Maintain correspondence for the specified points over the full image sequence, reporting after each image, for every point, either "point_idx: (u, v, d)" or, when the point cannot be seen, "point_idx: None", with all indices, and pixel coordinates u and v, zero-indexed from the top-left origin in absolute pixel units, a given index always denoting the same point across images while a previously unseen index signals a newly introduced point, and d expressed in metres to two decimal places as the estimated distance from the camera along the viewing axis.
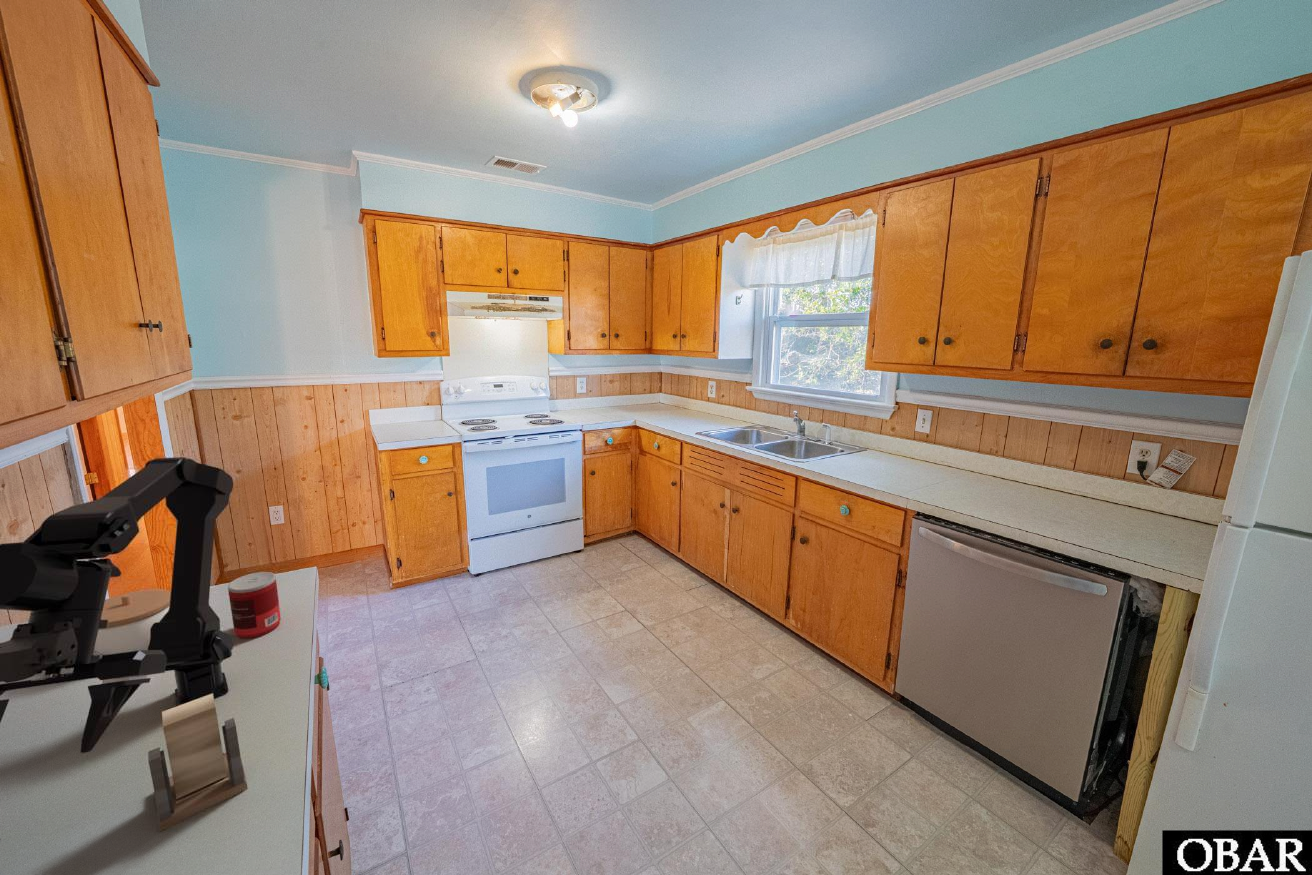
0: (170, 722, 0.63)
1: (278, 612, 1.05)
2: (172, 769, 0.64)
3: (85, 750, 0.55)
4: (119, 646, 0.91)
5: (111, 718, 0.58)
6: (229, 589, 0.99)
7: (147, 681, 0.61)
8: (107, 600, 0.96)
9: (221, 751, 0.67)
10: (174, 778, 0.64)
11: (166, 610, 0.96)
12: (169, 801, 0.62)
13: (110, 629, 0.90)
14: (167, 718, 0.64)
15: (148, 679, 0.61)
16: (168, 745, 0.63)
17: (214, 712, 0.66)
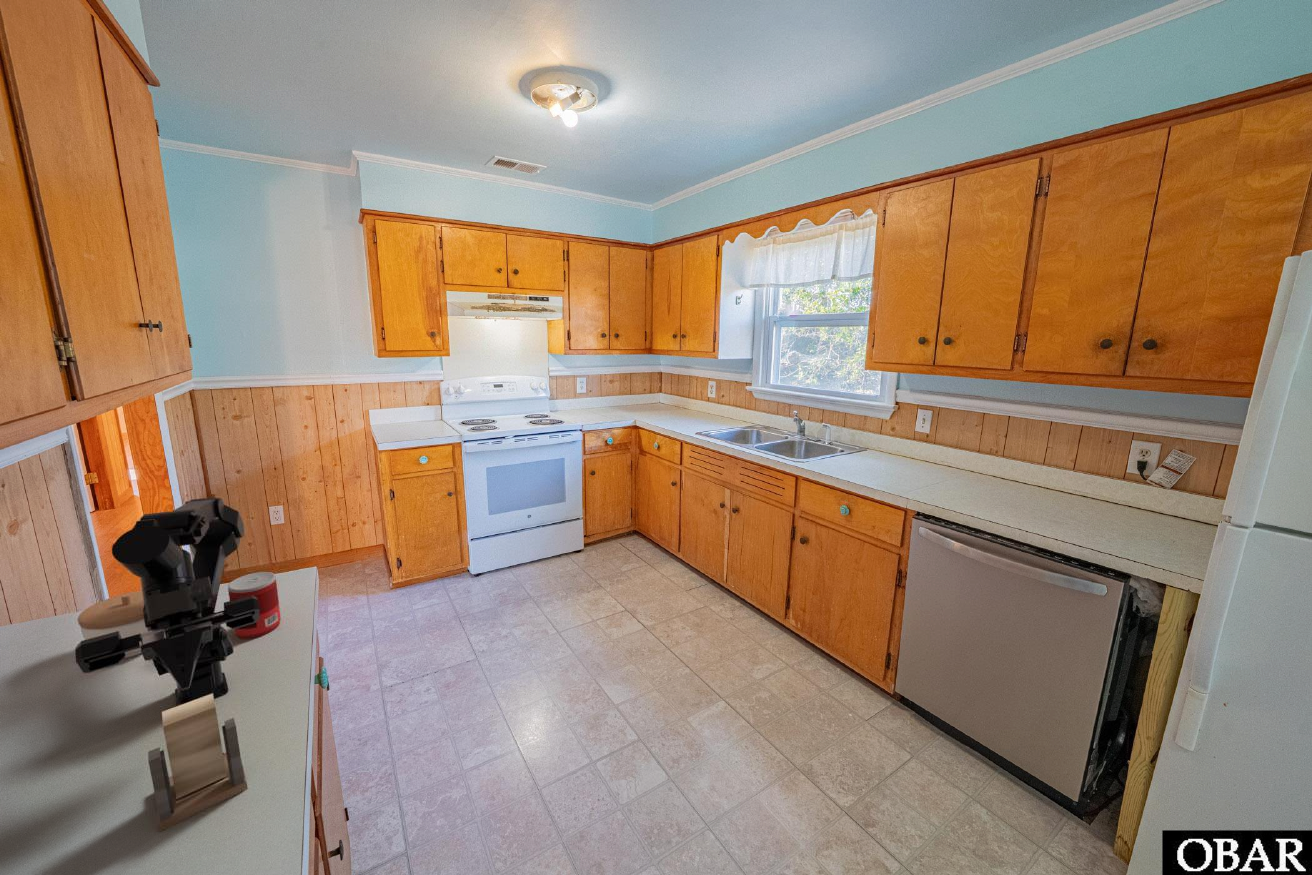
0: (170, 722, 0.63)
1: (278, 612, 1.05)
2: (172, 769, 0.64)
3: (189, 684, 0.69)
4: None
5: (195, 665, 0.72)
6: (229, 589, 0.99)
7: (212, 638, 0.75)
8: (107, 600, 0.96)
9: (221, 751, 0.67)
10: (174, 778, 0.64)
11: None
12: (169, 801, 0.62)
13: (110, 629, 0.90)
14: (167, 718, 0.64)
15: None
16: (168, 745, 0.63)
17: (214, 712, 0.66)
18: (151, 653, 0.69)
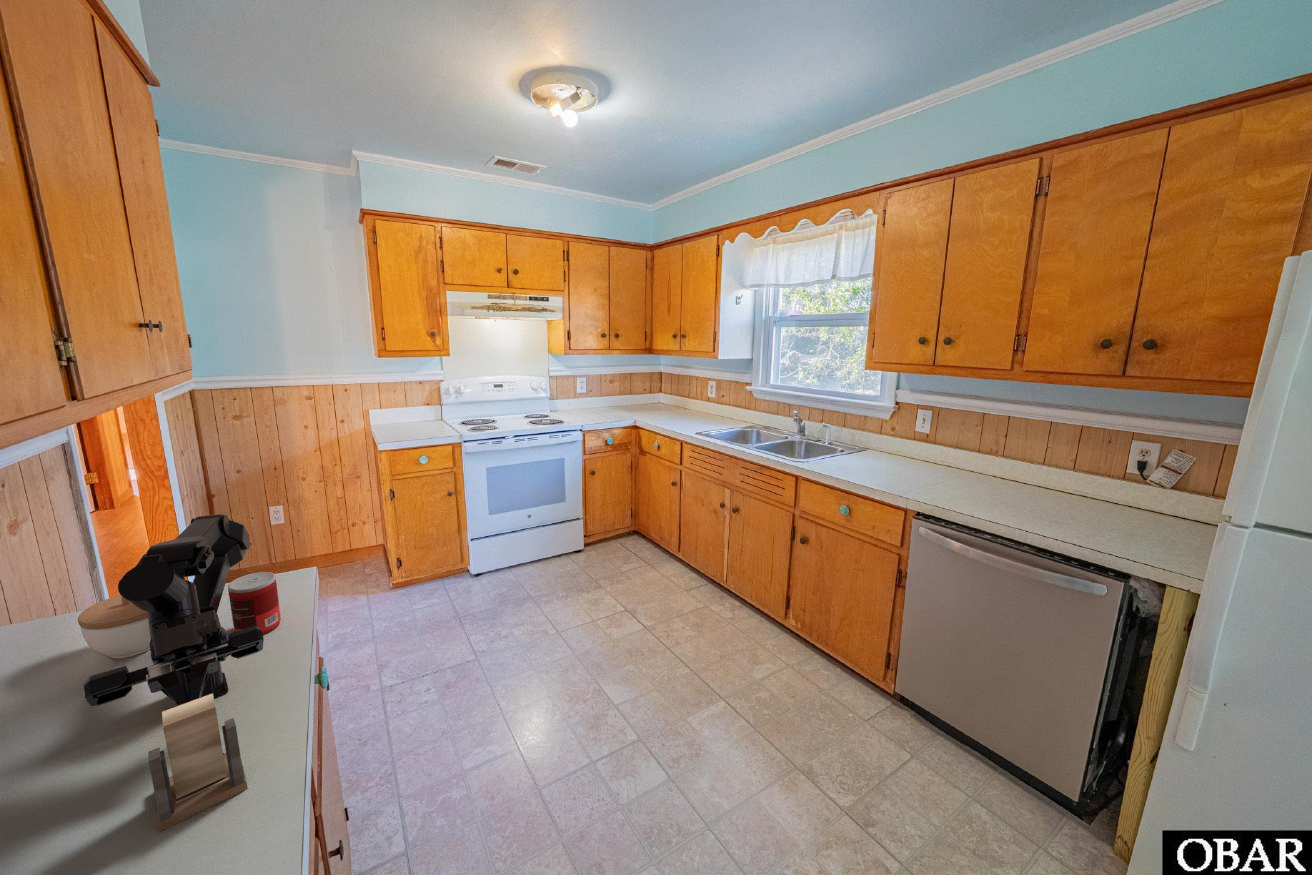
0: (170, 722, 0.63)
1: (278, 612, 1.05)
2: (172, 769, 0.64)
3: None
4: (119, 646, 0.91)
5: (200, 697, 0.73)
6: (229, 589, 0.99)
7: (217, 668, 0.76)
8: (107, 600, 0.96)
9: (221, 751, 0.67)
10: (174, 778, 0.64)
11: None
12: (169, 801, 0.62)
13: (110, 629, 0.90)
14: (167, 718, 0.64)
15: (217, 667, 0.76)
16: (168, 745, 0.63)
17: (214, 712, 0.66)
18: (157, 686, 0.71)
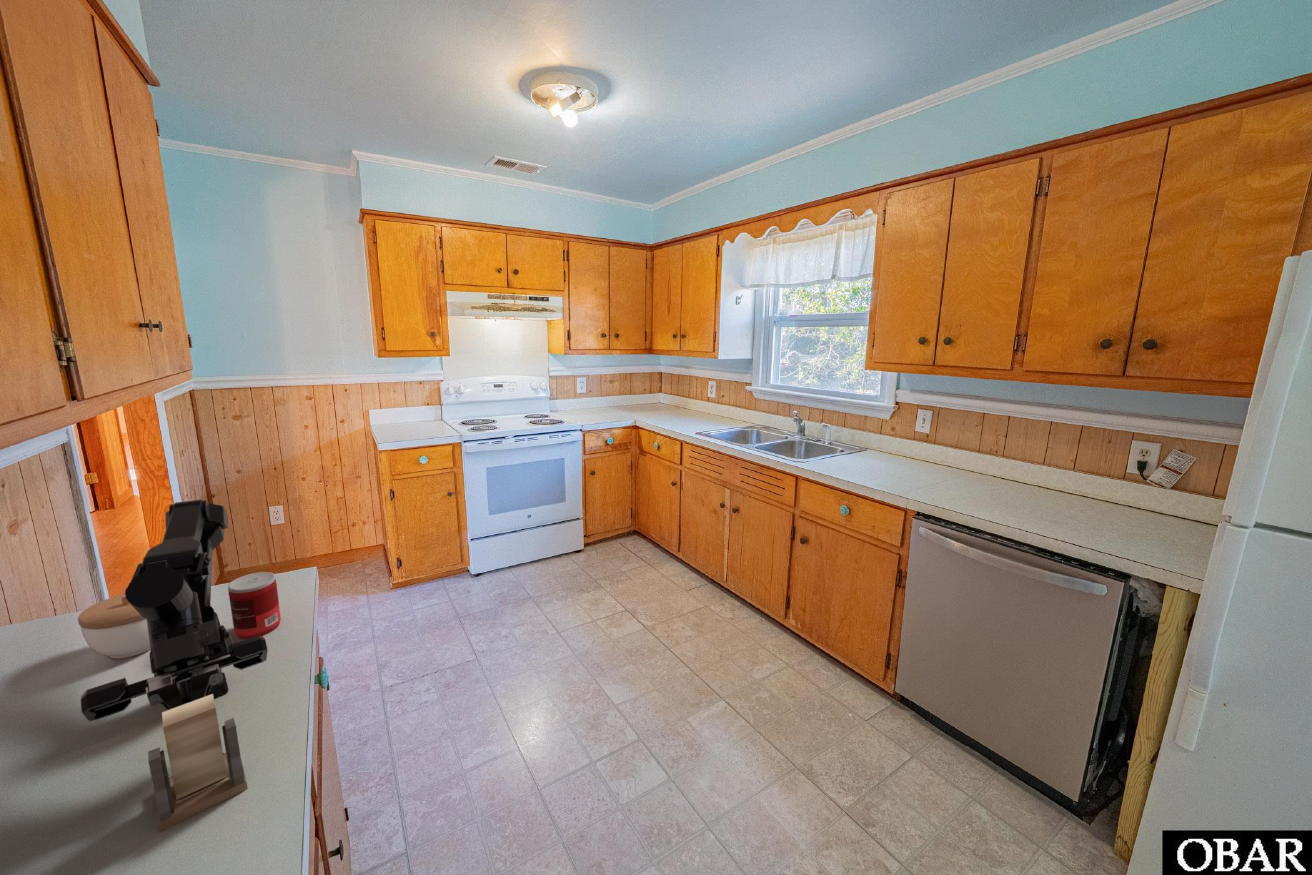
0: (170, 723, 0.63)
1: (278, 612, 1.05)
2: (172, 770, 0.64)
3: None
4: (119, 646, 0.91)
5: None
6: (229, 589, 0.99)
7: (219, 680, 0.74)
8: (107, 600, 0.96)
9: (221, 752, 0.67)
10: (174, 779, 0.64)
11: None
12: (169, 801, 0.62)
13: (110, 629, 0.90)
14: (167, 719, 0.64)
15: (219, 679, 0.74)
16: (168, 746, 0.63)
17: (214, 713, 0.66)
18: (158, 699, 0.68)
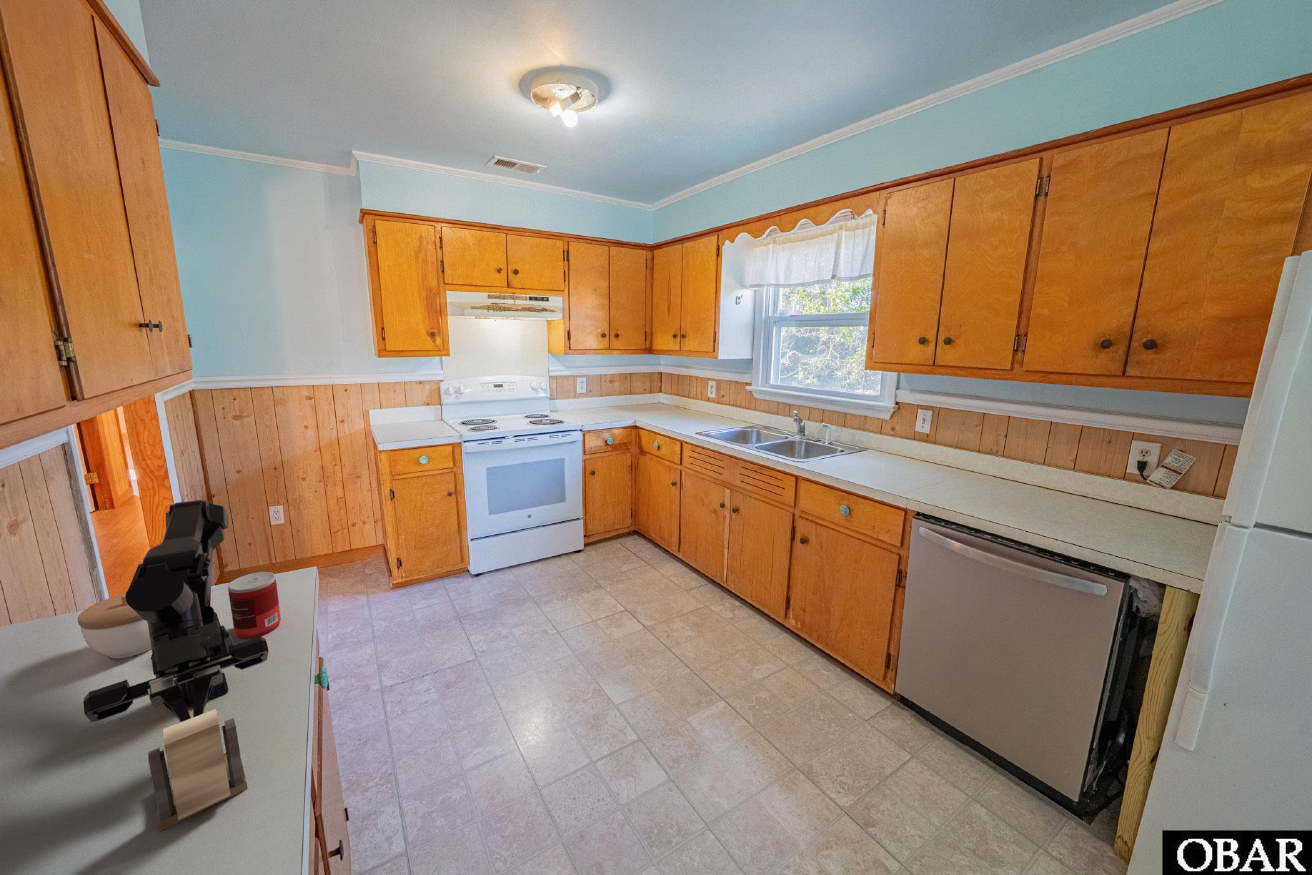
0: (172, 740, 0.60)
1: (278, 612, 1.05)
2: (174, 789, 0.61)
3: None
4: (119, 646, 0.91)
5: None
6: (229, 589, 0.99)
7: (220, 680, 0.74)
8: (107, 600, 0.96)
9: (225, 769, 0.64)
10: (176, 798, 0.61)
11: None
12: (169, 801, 0.62)
13: (110, 629, 0.90)
14: (168, 736, 0.61)
15: None
16: (170, 764, 0.60)
17: (217, 729, 0.63)
18: (160, 700, 0.69)
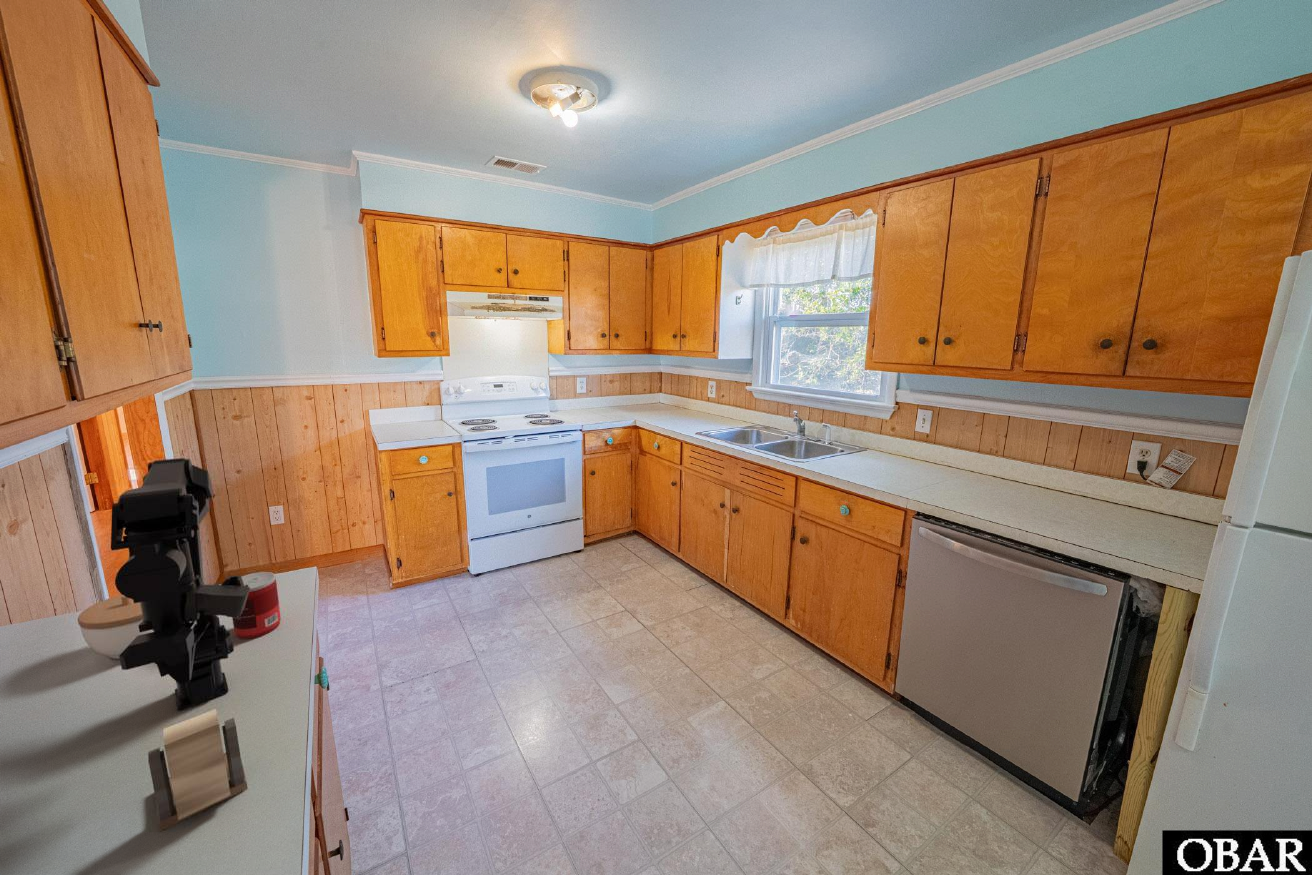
0: (172, 740, 0.60)
1: (278, 612, 1.05)
2: (174, 789, 0.61)
3: (190, 677, 0.71)
4: (119, 646, 0.91)
5: None
6: None
7: None
8: (107, 600, 0.96)
9: (225, 769, 0.64)
10: (176, 798, 0.61)
11: None
12: (169, 801, 0.62)
13: (110, 629, 0.90)
14: (168, 736, 0.61)
15: None
16: (170, 764, 0.60)
17: (217, 729, 0.63)
18: None
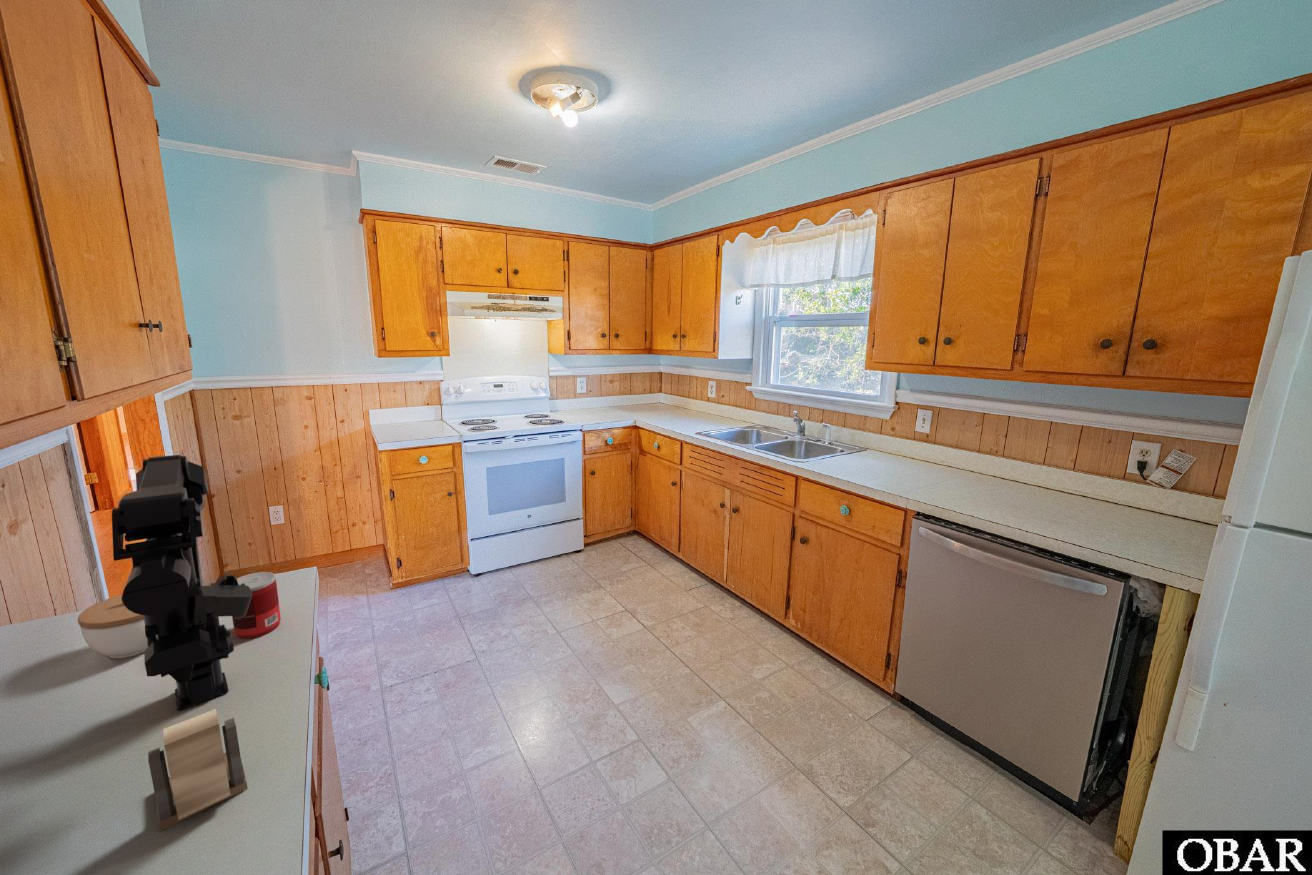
0: (172, 740, 0.60)
1: (278, 612, 1.05)
2: (174, 789, 0.61)
3: None
4: (119, 646, 0.91)
5: None
6: None
7: None
8: (107, 600, 0.96)
9: (225, 769, 0.64)
10: (176, 798, 0.61)
11: None
12: (169, 801, 0.62)
13: (110, 629, 0.90)
14: (168, 736, 0.61)
15: None
16: (170, 764, 0.60)
17: (217, 729, 0.63)
18: None
